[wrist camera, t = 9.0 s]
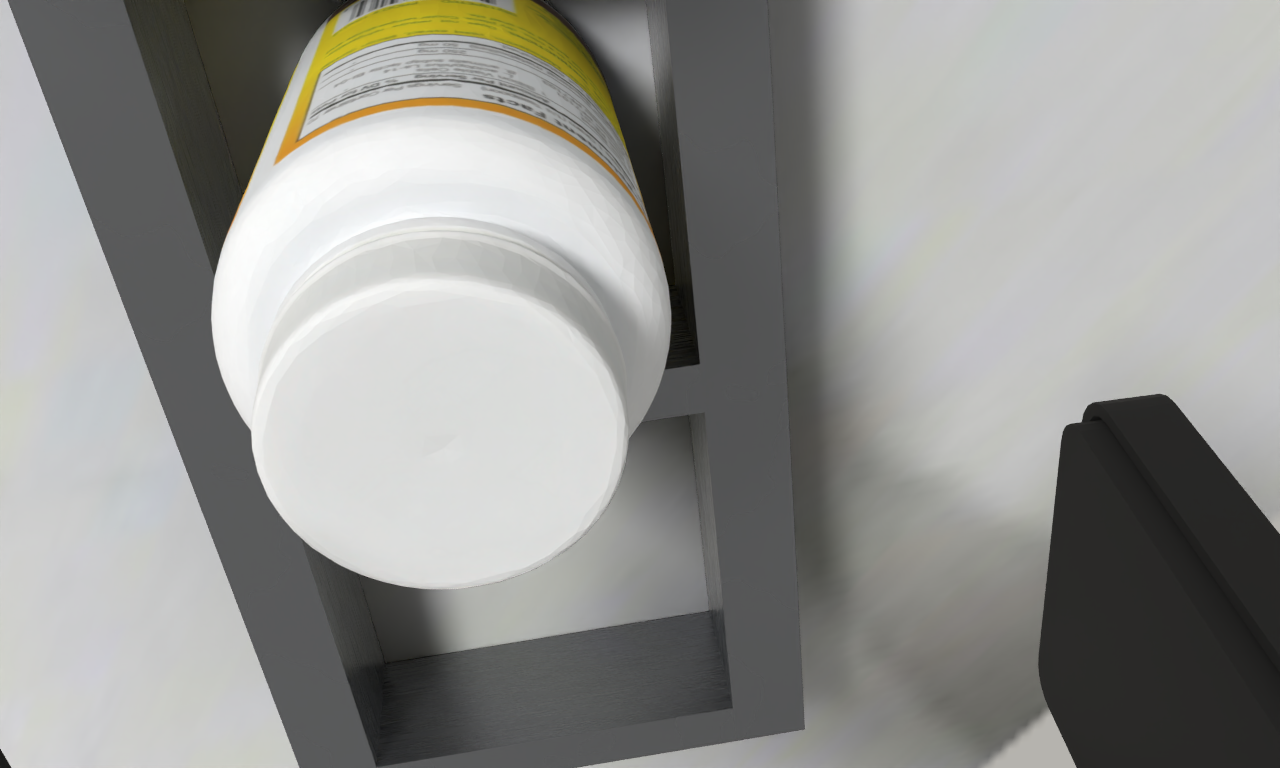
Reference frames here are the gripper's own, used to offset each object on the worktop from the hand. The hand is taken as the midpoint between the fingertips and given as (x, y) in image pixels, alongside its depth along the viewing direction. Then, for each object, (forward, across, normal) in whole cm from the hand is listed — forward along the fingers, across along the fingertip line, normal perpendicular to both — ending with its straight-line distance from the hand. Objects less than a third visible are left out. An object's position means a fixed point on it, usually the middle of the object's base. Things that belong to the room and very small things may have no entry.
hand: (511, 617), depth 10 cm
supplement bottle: (+13, +1, +1) cm, 13 cm away
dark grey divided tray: (+13, +1, +5) cm, 14 cm away
